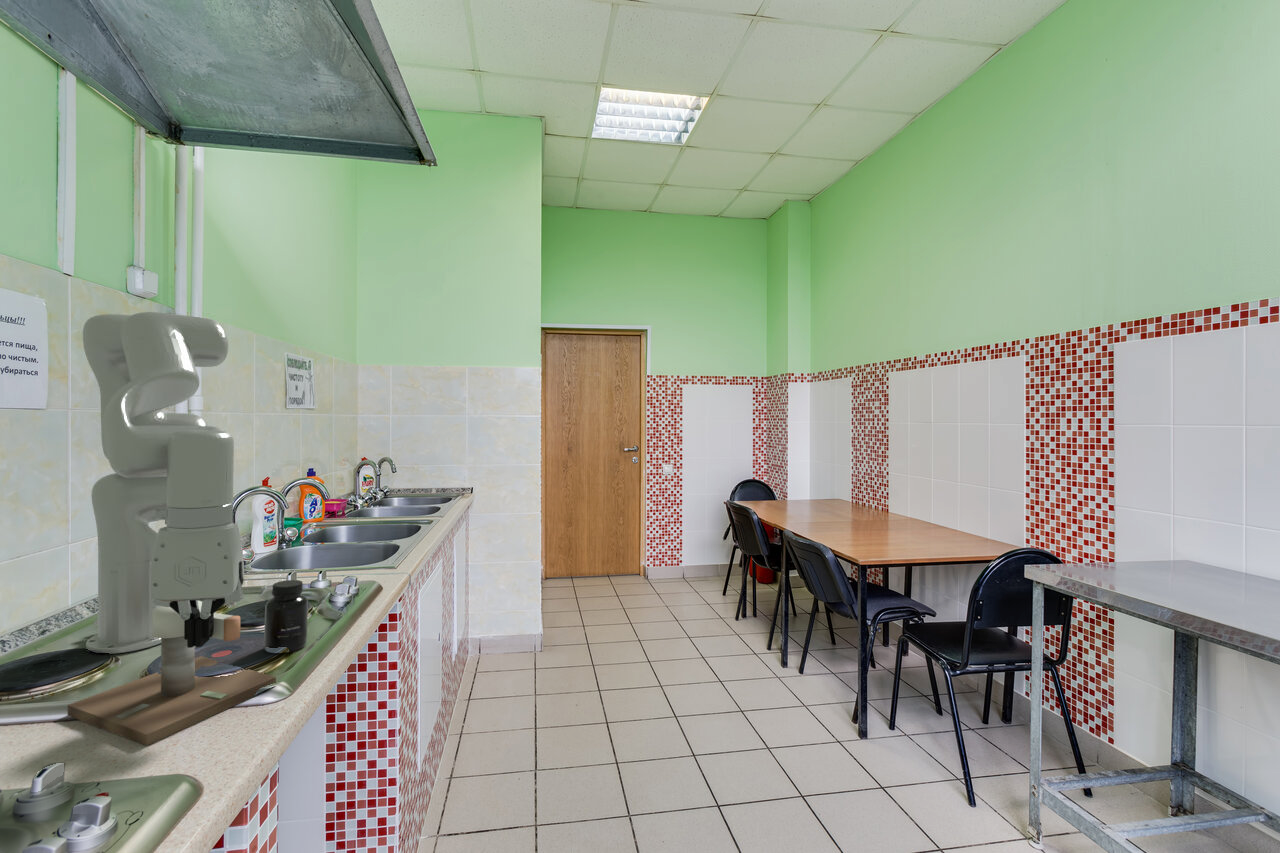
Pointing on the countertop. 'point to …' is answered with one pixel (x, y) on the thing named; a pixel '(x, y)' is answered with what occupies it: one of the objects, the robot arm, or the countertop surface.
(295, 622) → the supplement bottle
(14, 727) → the countertop surface
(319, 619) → the countertop surface
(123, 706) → the base
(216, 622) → the cream orange-tipped lever
